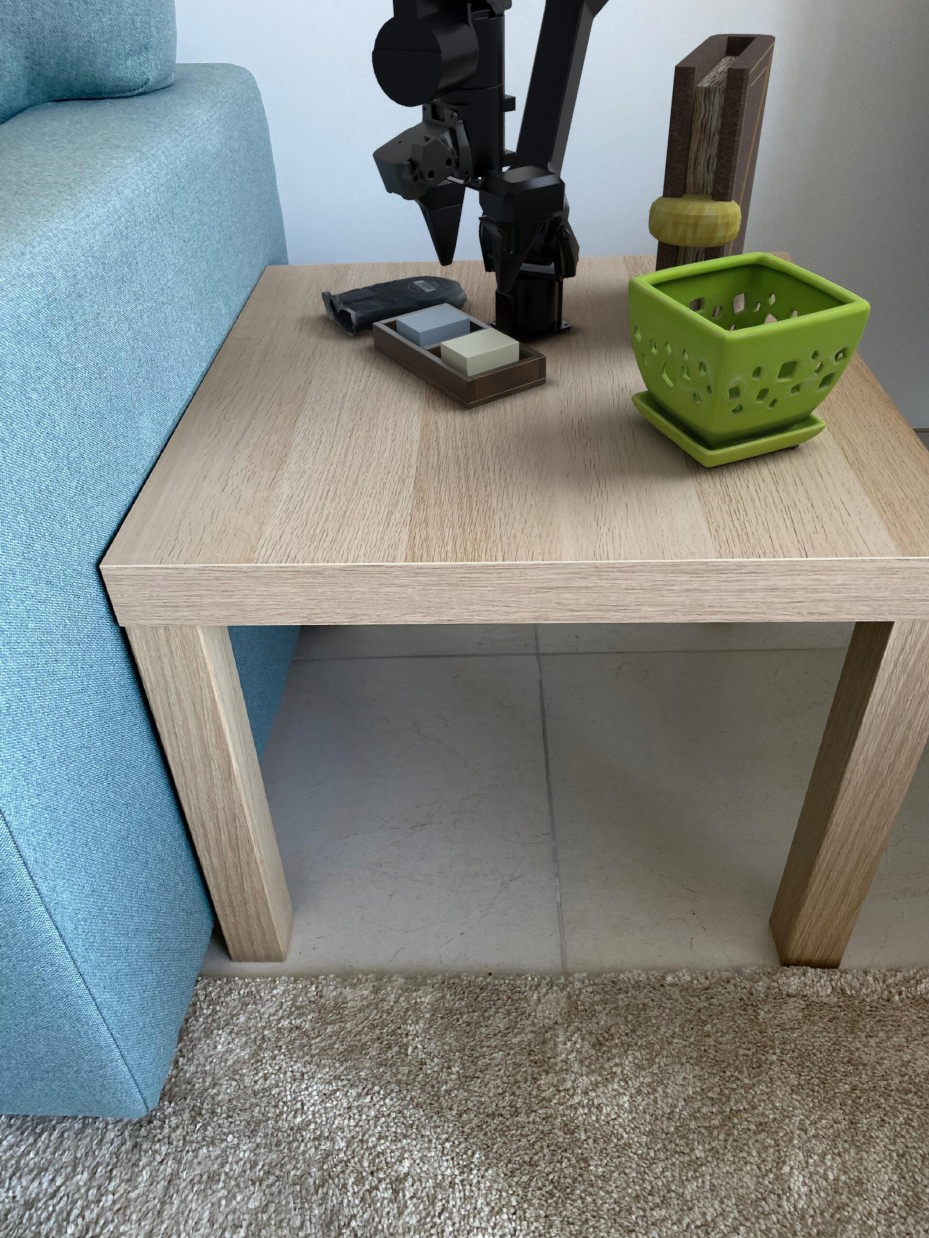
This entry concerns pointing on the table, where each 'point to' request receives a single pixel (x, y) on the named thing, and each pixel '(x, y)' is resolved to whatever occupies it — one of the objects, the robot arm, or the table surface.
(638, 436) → the table surface
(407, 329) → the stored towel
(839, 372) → the flower pot
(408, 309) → the electronic device
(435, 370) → the shallow rectangular tray
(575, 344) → the table surface
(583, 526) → the table surface
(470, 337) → the cream rectangular block
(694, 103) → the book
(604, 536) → the table surface
